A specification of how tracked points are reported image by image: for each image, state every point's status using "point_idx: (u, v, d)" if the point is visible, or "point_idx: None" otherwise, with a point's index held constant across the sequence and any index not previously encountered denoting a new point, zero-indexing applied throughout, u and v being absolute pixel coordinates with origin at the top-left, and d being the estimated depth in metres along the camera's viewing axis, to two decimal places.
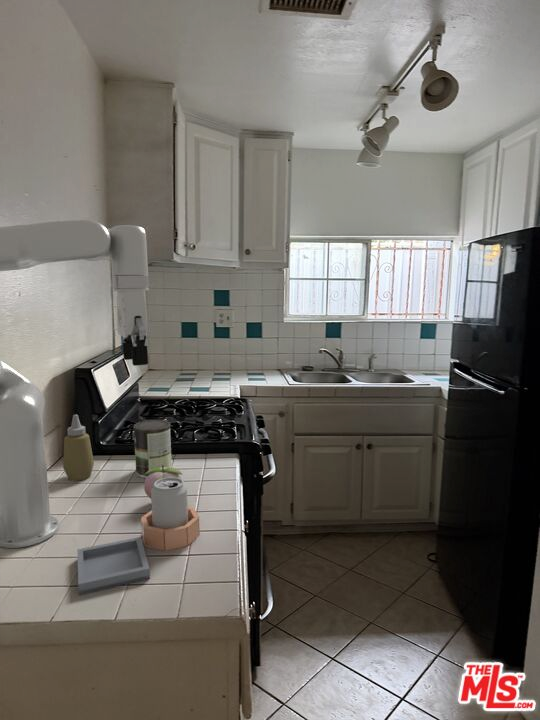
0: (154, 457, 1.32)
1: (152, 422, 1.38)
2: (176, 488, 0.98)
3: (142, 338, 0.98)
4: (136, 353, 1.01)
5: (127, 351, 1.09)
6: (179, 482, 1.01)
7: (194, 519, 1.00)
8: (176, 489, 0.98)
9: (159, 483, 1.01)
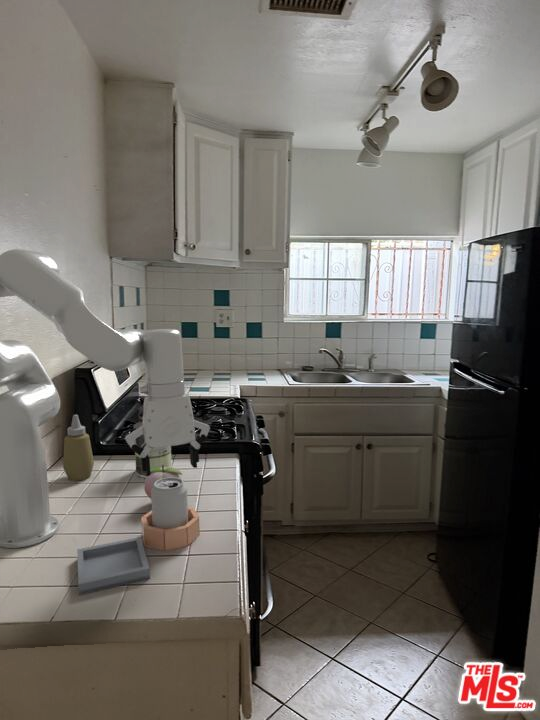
0: (154, 457, 1.32)
1: None
2: (176, 488, 0.98)
3: None
4: (195, 455, 1.00)
5: (149, 465, 0.97)
6: (179, 482, 1.01)
7: (194, 519, 1.00)
8: (176, 489, 0.98)
9: (159, 483, 1.01)
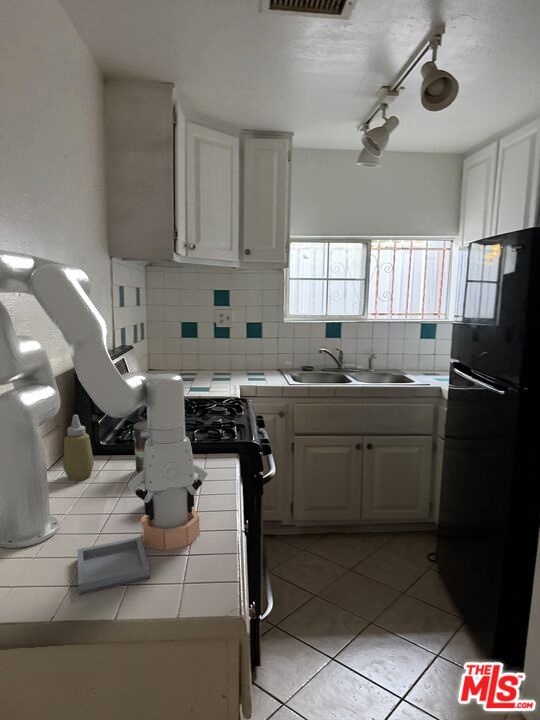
0: None
1: None
2: (176, 488, 0.98)
3: None
4: None
5: (152, 510, 0.98)
6: None
7: (194, 519, 1.00)
8: (176, 489, 0.98)
9: None
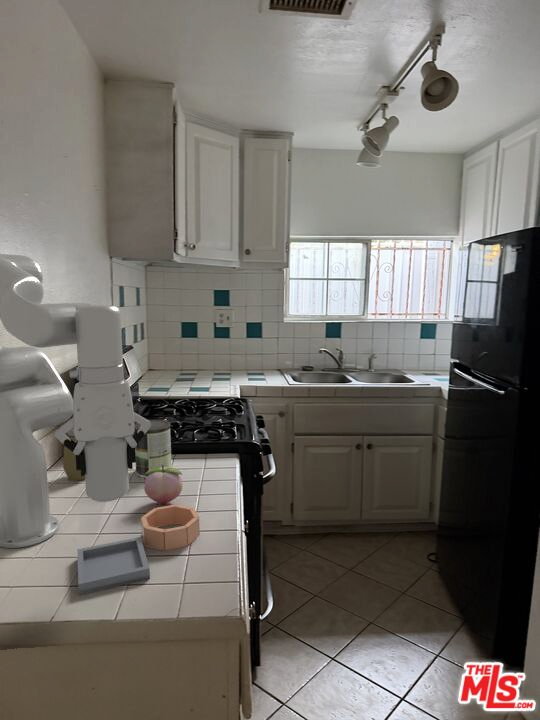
0: (154, 457, 1.32)
1: (152, 422, 1.38)
2: (112, 438, 0.83)
3: None
4: (131, 454, 0.87)
5: (84, 464, 0.84)
6: None
7: (194, 519, 1.00)
8: (112, 439, 0.84)
9: None
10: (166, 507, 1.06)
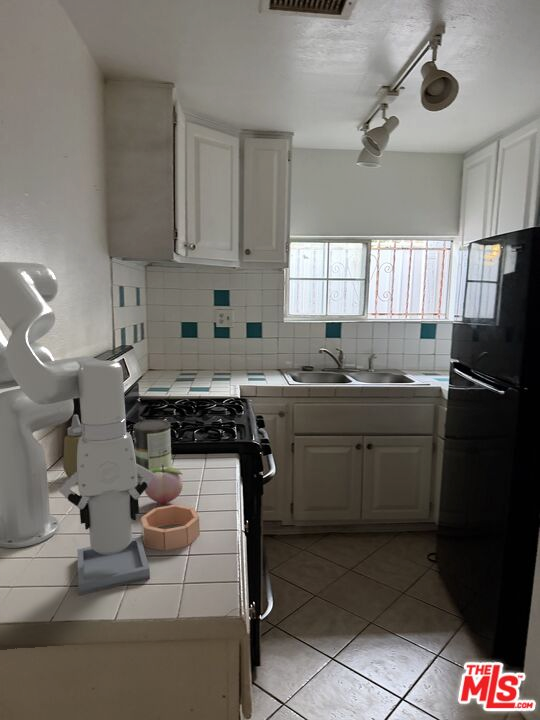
0: (154, 457, 1.32)
1: (152, 422, 1.38)
2: (115, 492, 0.85)
3: None
4: (134, 506, 0.89)
5: (88, 517, 0.86)
6: None
7: (194, 519, 1.00)
8: (115, 493, 0.85)
9: None
10: (166, 507, 1.06)
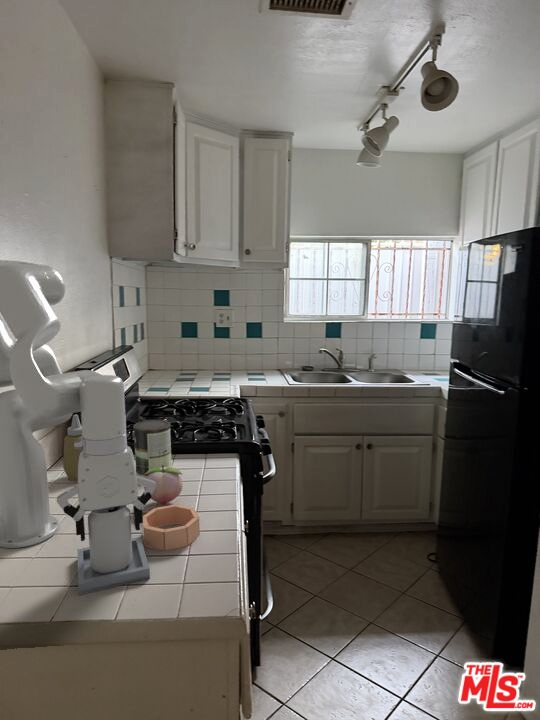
0: (154, 457, 1.32)
1: (152, 422, 1.38)
2: (116, 513, 0.86)
3: None
4: (138, 516, 0.89)
5: (84, 529, 0.86)
6: None
7: (194, 519, 1.00)
8: (116, 513, 0.86)
9: None
10: (166, 507, 1.06)
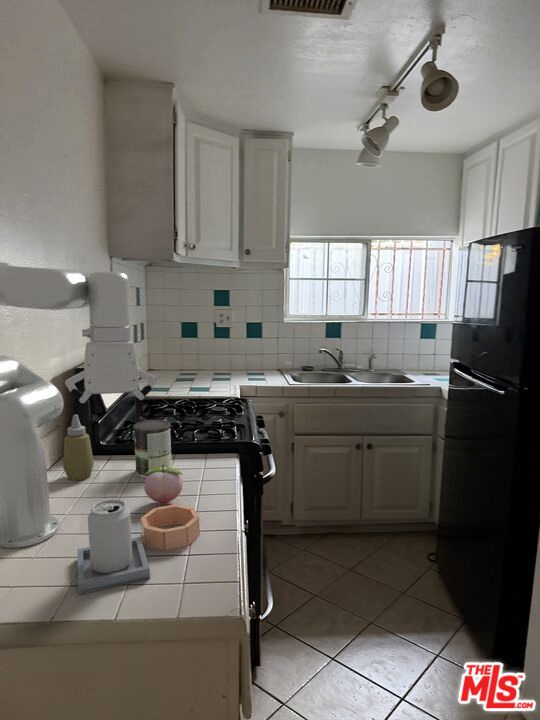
0: (154, 457, 1.32)
1: (152, 422, 1.38)
2: (116, 513, 0.86)
3: (151, 388, 0.98)
4: (139, 406, 0.97)
5: (89, 412, 0.94)
6: (121, 505, 0.89)
7: (194, 519, 1.00)
8: (116, 514, 0.86)
9: (98, 506, 0.89)
10: (166, 507, 1.06)
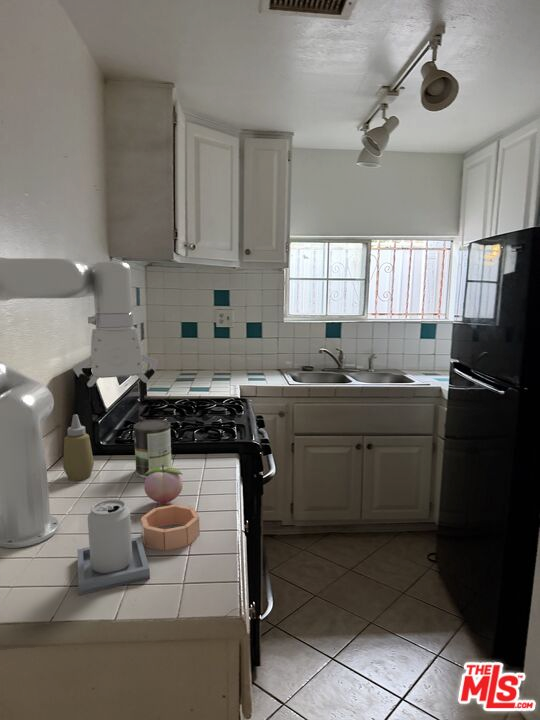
0: (154, 457, 1.32)
1: (152, 422, 1.38)
2: (115, 513, 0.86)
3: None
4: (143, 389, 1.02)
5: None
6: (121, 505, 0.89)
7: (194, 519, 1.00)
8: (116, 514, 0.86)
9: (98, 506, 0.89)
10: (166, 507, 1.06)
